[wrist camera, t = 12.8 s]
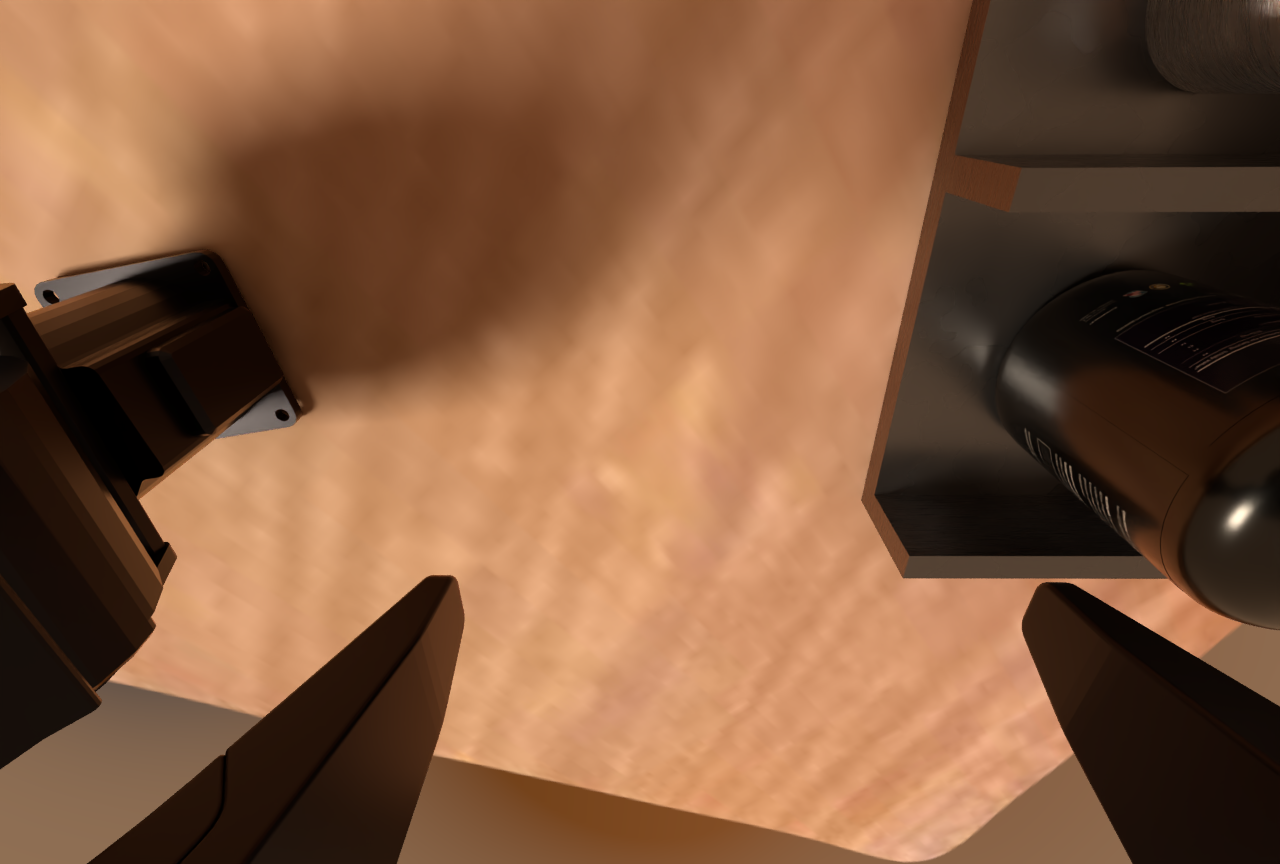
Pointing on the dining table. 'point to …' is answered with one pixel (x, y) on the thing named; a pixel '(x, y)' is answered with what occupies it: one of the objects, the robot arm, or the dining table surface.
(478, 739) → the dining table surface
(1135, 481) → the supplement bottle
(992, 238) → the condiment caddy
